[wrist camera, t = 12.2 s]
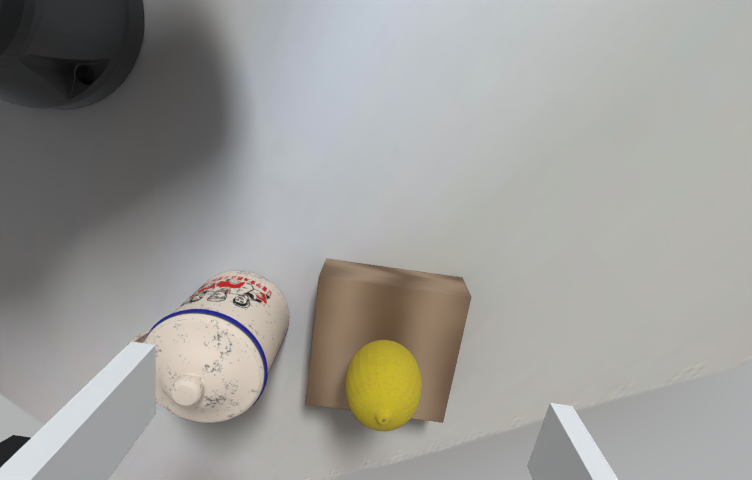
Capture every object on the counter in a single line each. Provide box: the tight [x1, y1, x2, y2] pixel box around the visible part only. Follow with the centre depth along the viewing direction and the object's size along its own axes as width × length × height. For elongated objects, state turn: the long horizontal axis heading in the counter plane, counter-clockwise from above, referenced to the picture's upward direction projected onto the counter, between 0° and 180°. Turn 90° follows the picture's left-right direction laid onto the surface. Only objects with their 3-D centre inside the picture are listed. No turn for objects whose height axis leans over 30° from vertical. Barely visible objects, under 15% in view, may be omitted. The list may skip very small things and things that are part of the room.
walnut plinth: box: [306, 259, 471, 423], centre depth 36 cm, size 12×12×4 cm
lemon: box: [346, 340, 422, 431], centre depth 31 cm, size 6×6×8 cm
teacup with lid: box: [128, 271, 289, 423], centre depth 33 cm, size 12×9×12 cm
